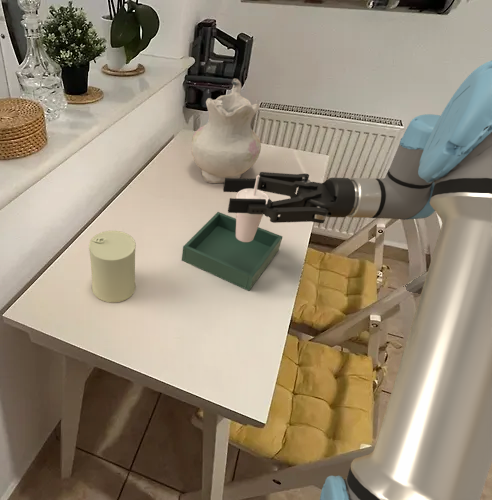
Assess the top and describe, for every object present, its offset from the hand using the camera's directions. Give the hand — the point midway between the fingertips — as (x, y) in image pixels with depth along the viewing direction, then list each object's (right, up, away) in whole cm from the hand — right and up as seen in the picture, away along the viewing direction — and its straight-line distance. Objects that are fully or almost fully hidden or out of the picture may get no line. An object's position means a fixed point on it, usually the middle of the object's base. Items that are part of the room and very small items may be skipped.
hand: (226, 195), depth 82 cm
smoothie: (+5, -8, +7) cm, 11 cm away
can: (-22, -18, +9) cm, 30 cm away
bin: (+4, -12, +17) cm, 21 cm away
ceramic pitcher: (+7, +13, +46) cm, 49 cm away
